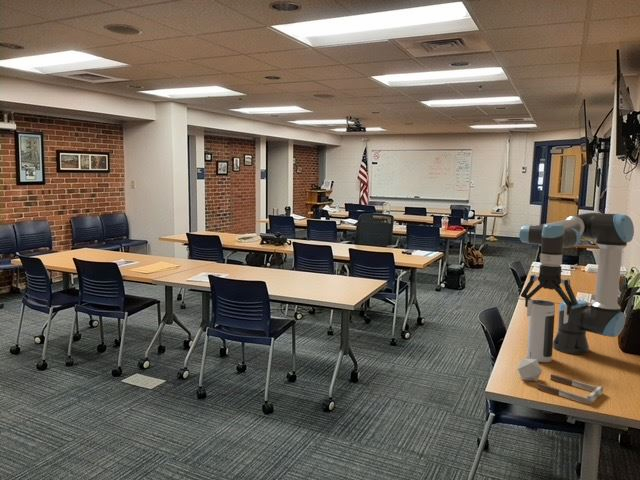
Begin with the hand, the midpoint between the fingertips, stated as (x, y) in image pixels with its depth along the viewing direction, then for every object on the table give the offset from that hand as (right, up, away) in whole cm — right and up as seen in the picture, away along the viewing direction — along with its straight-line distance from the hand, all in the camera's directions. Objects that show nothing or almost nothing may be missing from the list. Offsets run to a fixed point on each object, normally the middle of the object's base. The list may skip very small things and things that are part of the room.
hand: (546, 319), depth 189 cm
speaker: (+10, -23, +29) cm, 38 cm away
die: (-4, -25, +6) cm, 26 cm away
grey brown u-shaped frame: (+6, -26, -5) cm, 27 cm away
